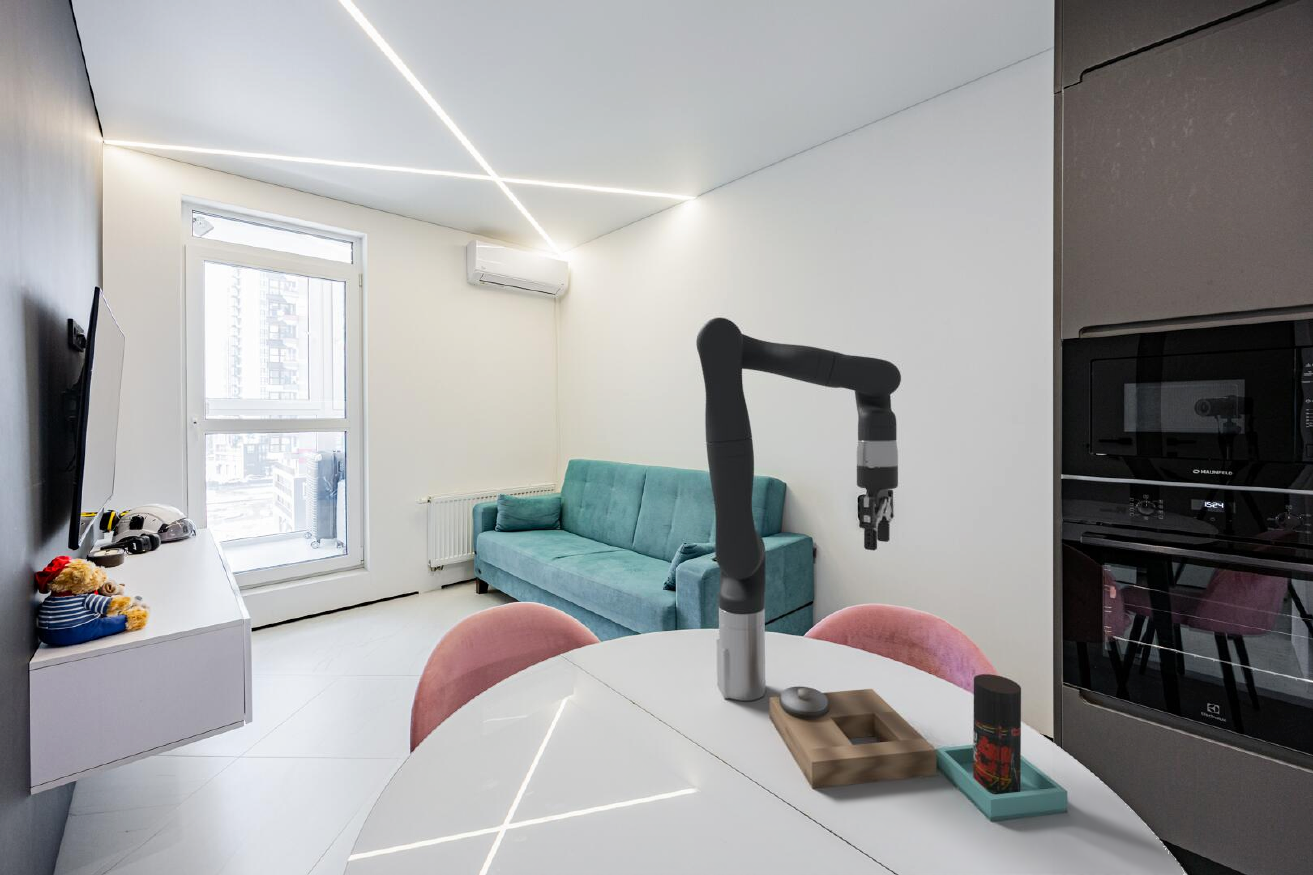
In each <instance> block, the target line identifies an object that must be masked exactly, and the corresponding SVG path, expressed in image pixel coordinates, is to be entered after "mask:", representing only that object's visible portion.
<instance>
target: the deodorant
mask: <svg viewBox="0 0 1313 875" xmlns="http://www.w3.org/2000/svg"><path fill="white" fill-rule="evenodd" d="M972 740H973V741H972V742H973V743H972V745H973V778H974V779H975V780H976V781H977V782H978V783H979V784H980V785H981V786H983V787H984V788H985V789H986V790H987V791H988V792H990V793H992V794H995V795H997V794H1006V793H1015V792H1020V783H1021V756H1022V755H1021V754H1022V753H1021V752H1022V750H1021V749H1022V748H1021V745H1022V687H1021V685H1020V684H1018V683H1017V682H1016V681H1015V680H1012V679H1010V678H1007V677H1004V676H1000V675H996V674H989V673H987V674H986V673H982V674H977V675H975V676H974V677H973V739H972Z"/></svg>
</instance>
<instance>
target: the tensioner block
mask: <svg viewBox="0 0 1313 875" xmlns="http://www.w3.org/2000/svg"><path fill="white" fill-rule="evenodd" d="M769 719H771V720H770V721H771V723H772V725H773V724H774V725H773V726H774V728H775V729H776V731H777V733H778V734H779V736H780V738H781V739H782V741H783V743H784V745H785V746H786V749H788V751H789V753H790V754H791V755H792V757H793V759H794V761H795V763H796V764H797V766H798V768H799V769H800V770H801V773H802V774H803V776H804V777H805V779H806V780H807V782H808V784H809V785H810V787H811V788H812V789H818V788H819V789H820V788H829V787H835V786H836V787H837V786H838V787H839V786H847V785H856V784H857V785H858V784H865V783H874V782H875V783H876V782H885V781H893V780H903V779H904V780H905V779H912V778H921V777H923V778H924V777H930V776H932V775H933V776H937V767H936V748H935V747H934V746H933V745H932V744H931V743H930V742H929V741H928V740H927V739H926V738H925V737H924V736H923V735H922V734H921V733H919V732H918V730H916V729H915V728H914V727H913V726H912V725H911V724H910V723H909V722H908V721H907V720H905V718H904V717H902V716H901V714H900V713H898V712H897V711H896V710H895V709H894V708H893V707H892V706H891V705H890V704H889V703H888V702H886V701H885V700H884V699H883V698H882V696H880V695H879V694H878V693H877V692H876V691H875V690H874V689H873V688H864V689H854V690H853V689H852V690H843V691H842V690H841V691H830V692H829V691H827V692H821V691H820V690H817V689H815V688H813V687H808V686H791V687H788V688H785V689H784V690H783V691H781V693H780V694H779V696H770V697H769ZM867 737H875V739H876V740H877V741H878V742H871V743H862V744H852V742H851V741H850V740H849V739H854V738H855V739H857V738H867Z"/></svg>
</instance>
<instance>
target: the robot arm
mask: <svg viewBox="0 0 1313 875" xmlns="http://www.w3.org/2000/svg"><path fill="white" fill-rule="evenodd" d="M695 341H696V347H697V352H698V355H699V361H700V365H701V369H702V376H703V380H704V381H703V382H704V388H705V390H704V392H705V414H704V415H705V416H704V418H705V419H704V420H705V422H704V424H705V425H704V426H705V442H706V443H705V444H706V454H707V463H708V470H709V478H710V484H711V485H710V486H711V491H712V497H713V503H714V513H715V514H714V515H715V545H714V546H715V547H714V552H715V555H714V556H715V560H716V564H717V565H718V567H719V569H720V582H719V590H718V632H719V633H718V635H719V636H718V639H716V682H717V683H716V685H717V687H718V689H719V691H720V692H721V695H722V697H723V699H730V700H736V701H743V702H744V701H748V702H749V701H755V700H758V699H761V697H762V698H763V697H764V695H766V694H765V693H766V682H767V681H766V635H765V634H766V631H765V630H766V626H765V621H766V620H765V618H766V617H765V615H766V614H765V598H766V595H765V594H766V546H765V542H764V539H763V537H762V536H761V534H760V533H759V532H758V531H757V530H756V527H755V523H754V521H755V520H754V515H753V514H754V512H753V492H754V491H753V490H754V481H755V480H754V479H755V454H754V442H753V435H752V434H753V433H752V428H751V421H750V416H749V411H748V406H747V402H746V397H745V393H744V387H743V386H744V384H743V370H750V371H751V370H752V371H759V372H763V373H768V374H773V375H777V376H781V377H786V378H790V379H791V380H792V379H793V380H797V381H800V382H805V383H808V384H813V385H816V386H822V387H826V388H834V389H838V388H840V389H847V390H851V391H854V396H855V403H856V411H857V415H858V416H857V418H858V419H857V420H858V421H857V447H856V486H857V487H858V488H861V489H865V490H866V491H865V492H866V493H865V496H863V495H860V496H859V516H858V517H859V519H858V520H859V524H858V526H859V528H861V529H862V530H863V535H864V536H863V548H864V550H866V551H867V550H869V551H875V550H877V549H878V542H884V543H887V542H889V541H890V538H891V537H890V536H891V534H890V530H891V529H890V526H891V525H890V524H891V523H892V519H893V518H894V516H895V514H894V489H897V488H898V486H899V450H898V444H897V435H898V434H897V428H898V427H897V417H896V414H895V412H894V411H893V409H892V400H891V394H893V393H894V392H896V391H897V390H898V388H899V387H900V385H901V382H902V375H901V372H900V370H899V368H898V367H897V366H896V365H895V364H894V363H892V362H891V361H889V360H886V359H881V358H877V357H870V356H860V355H850V354H844V353H842V352H837V351H834V350H828V349H825V348H821V347H820V348H819V347H815V346H810V345H802V344H792V343H791V344H790V343H789V344H788V343H781V342H780V343H777V342H771V341H766V340H762V339H758V338H755V337H752V336H749V335H747V334H745V333H744V334H743V333H742V331H741V329H740V328H739V326H738V325H737V324H736V323H735V322H733V321H732V320H730V319H728V318H725V317H714V318H712V319H709V320H708V321H706V322H705V323H704V324H703V325H702V326H701V328H700V329H699V331H698V333H697V336H696V340H695Z"/></svg>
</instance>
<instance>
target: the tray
mask: <svg viewBox="0 0 1313 875" xmlns="http://www.w3.org/2000/svg"><path fill="white" fill-rule="evenodd" d="M935 749H936V769H938V770H939V771H940V772H941V773H942V775H943V776H945V778H947V779H948V780H949V781H950V782H951V784H952V785H953V786H954V787H956V788H957V787H958V788H959V789H958V788H957V789H958V790H959V791H960V793H962V794H963V795H964V796H965V798H967V799H968V800H969V801H970V800H971V801H970V802H971V803H972V804H973V805H974V806H975V807H976V809H978V810H979V811H980V812H981V814H983V815H984V816H985V817H986V818H987V819H988V820H989V821H990V822H996V821H1004V820H1006V821H1007V820H1011V819H1012V820H1013V819H1021V818H1031V817H1038V816H1039V817H1040V816H1046V815H1048V816H1049V815H1055V814H1064V813H1068V790H1067V789H1066V788H1064V787H1063V786H1062V785H1060V784H1059V783H1058V782H1056V780H1054V779H1053V778H1051V777H1050V776H1049V775H1047V774H1046V773H1045V772H1043V771H1042V770H1041V769H1040V768H1038V767H1037V766H1036V765H1035V764H1033V763H1032V762H1031V761H1029V760H1028V759H1027V758H1026V757H1024V756H1023V755H1021V783H1020V792H1015V793H1006V794H997V795H995V794H992V793H990V792H988V791H987V790H986V789H985V788H984V787H983V786H981V785H980V784H979V783H978V782H977V781H976V780H975V779H974V778H973V744H964V745H958V746H957V745H956V746H954V745H953V746H944V747H936V748H935Z"/></svg>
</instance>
